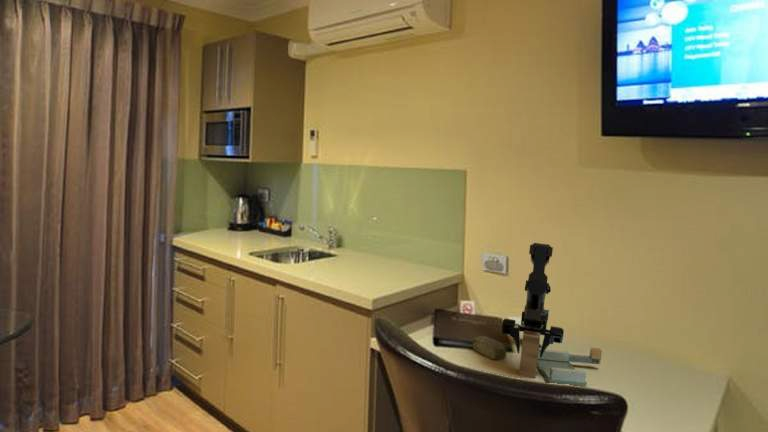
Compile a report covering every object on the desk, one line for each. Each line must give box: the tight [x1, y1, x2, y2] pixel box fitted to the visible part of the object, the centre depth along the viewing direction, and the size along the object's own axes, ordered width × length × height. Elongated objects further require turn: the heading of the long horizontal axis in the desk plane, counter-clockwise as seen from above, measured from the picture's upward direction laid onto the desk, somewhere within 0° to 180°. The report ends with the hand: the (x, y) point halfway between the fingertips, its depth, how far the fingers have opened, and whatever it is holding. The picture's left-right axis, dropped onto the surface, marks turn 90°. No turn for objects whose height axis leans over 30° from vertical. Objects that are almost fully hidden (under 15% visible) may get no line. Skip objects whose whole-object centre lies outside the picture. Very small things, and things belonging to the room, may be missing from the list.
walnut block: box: [518, 330, 541, 379], centre depth 155 cm, size 5×5×13 cm
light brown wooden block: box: [538, 347, 603, 365], centre depth 164 cm, size 2×20×5 cm, turn 88°
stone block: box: [472, 335, 507, 361], centre depth 170 cm, size 6×12×5 cm, turn 33°
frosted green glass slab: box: [537, 359, 587, 387], centre depth 158 cm, size 20×11×4 cm, turn 178°
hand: (529, 354), depth 153 cm, fingers open, 6 cm apart
